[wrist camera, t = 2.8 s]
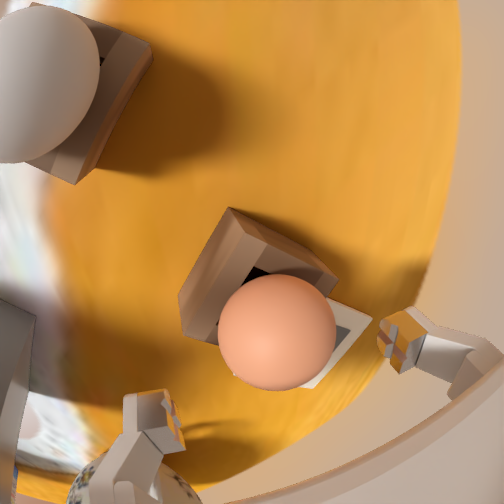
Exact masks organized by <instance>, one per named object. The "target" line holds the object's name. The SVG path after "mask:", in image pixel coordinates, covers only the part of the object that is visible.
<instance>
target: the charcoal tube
mask: <svg viewBox="0 0 504 504" xmlns="http://www.w3.org/2000/svg"><path fill="white" fill-rule="evenodd" d="M35 320H36V316H34V315H32V314H30V313H28V312H25V311H23V310H21V309H19V308H17V307H15V306H13V305H11V304H9V303H7V302H5V301H3V300H1V299H0V504H11V491H12V480H13V471H14V463H15V456H16V449H17V443H18V438H19V432H20V427H21V422H22V418H23V413H24V408H25V405H26V401H27V397H28V393H29V377H30V363H31V352H32V343H33V335H34V327H35Z"/></svg>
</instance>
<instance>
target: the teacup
mask: <svg viewBox="0 0 504 504" xmlns="http://www.w3.org/2000/svg"><path fill="white" fill-rule="evenodd" d="M107 453H108V452H105V453H103V454H101V455H100V456H99V458H97V459H95V460H94V461H92V462H91V463H89V464H88V465H87V466H86V467H85V468H84V469H83V470H82V471H81V472H80V473H79V474H78V476H77V477H76V479H75V480H74V482H73V484H72V486H71V488H70V491H69V494H68V497H67V501H66V504H90V499H89V481H90V479H91V477H92V476H93V474H94V473H95V471H96V470H97V468H98V467H99V465H100V463H101V462H102V460H103V459H104V457H105V456H106V454H107ZM148 495H150V496H152V497H153V498H155V499H156V500H158V501H159V502H161V503H162V504H202V502H201V500H200V498H199V497H198V495H197V494H196V493H195V491H194V490H193V489H192V488H191V487H190V485H189V484H188V483H187V482H186V481H185V480H184V479H183V478H182V477H181V476H180V475H179V474H177V473H176V472H175V471H174V470H172V469H171V468H169V467H168V466H167V465H165V464H163V463H162V462H161V463H160V466H159V468H158V471H157V473H156V475H155V478H154V480H153V482H152V485H151V487H150V489H149V492H148Z"/></svg>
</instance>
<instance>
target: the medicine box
mask: <svg viewBox="0 0 504 504" xmlns="http://www.w3.org/2000/svg"><path fill="white" fill-rule="evenodd" d="M17 477H18V470H17V468H16V466H15V465H14V471H13V480H12V491H11V504H15V496H16V485H17Z"/></svg>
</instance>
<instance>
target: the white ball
mask: <svg viewBox="0 0 504 504" xmlns="http://www.w3.org/2000/svg"><path fill="white" fill-rule="evenodd" d="M99 72H100V60H99V52H98V47H97V44H96V41H95V39H94V37H93V35H92V33H91V31H90V30H89V28H88V27H87V25H86V24H85V23H84V22H83V21H82V20H81V19H80V18H78V17H77V16H76V15H74V14H73V13H71V12H69V11H67V10H64V9H62V8H58V7H53V6H33V7H27V8H24V9H20V10H17V11H15V12H12V13H10V14H8V15H6V16H4V17H3V18H1V19H0V163H21V162H25V161H28V160H32V159H35V158H37V157H40V156H42V155H44V154H46V153H47V152H49V151H51V150H52V149H54V148H55V147H57V146H58V145H59V144H61V143H62V142H63V141H64V140H65V139H66V138H67V137H68V136H69V135H70V134H71V133H72V132H73V131H74V130H75V129H76V127H77V126H78V125H79V124H80V122H81V121H82V119H83V118H84V116H85V115H86V113H87V111H88V109H89V107H90V105H91V103H92V101H93V98H94V95H95V92H96V90H97V85H98V81H99Z"/></svg>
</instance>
